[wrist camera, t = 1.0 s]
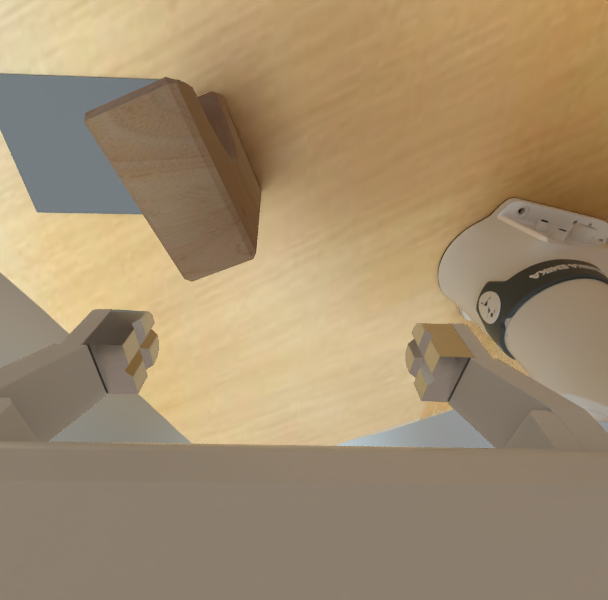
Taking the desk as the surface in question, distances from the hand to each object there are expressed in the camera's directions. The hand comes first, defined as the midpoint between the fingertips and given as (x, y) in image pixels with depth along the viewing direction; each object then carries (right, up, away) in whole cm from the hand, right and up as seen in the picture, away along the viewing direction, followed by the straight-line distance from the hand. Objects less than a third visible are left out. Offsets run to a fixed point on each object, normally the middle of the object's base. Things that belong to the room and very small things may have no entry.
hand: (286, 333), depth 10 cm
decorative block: (-9, +18, +26) cm, 33 cm away
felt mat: (-22, +18, +26) cm, 38 cm away
